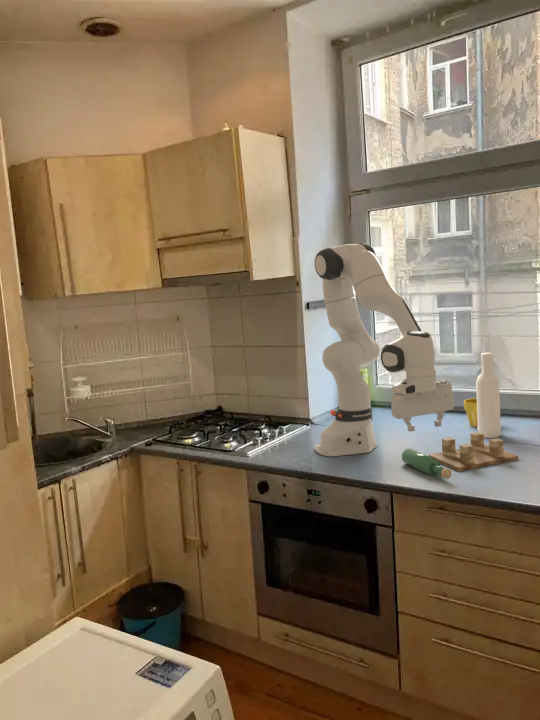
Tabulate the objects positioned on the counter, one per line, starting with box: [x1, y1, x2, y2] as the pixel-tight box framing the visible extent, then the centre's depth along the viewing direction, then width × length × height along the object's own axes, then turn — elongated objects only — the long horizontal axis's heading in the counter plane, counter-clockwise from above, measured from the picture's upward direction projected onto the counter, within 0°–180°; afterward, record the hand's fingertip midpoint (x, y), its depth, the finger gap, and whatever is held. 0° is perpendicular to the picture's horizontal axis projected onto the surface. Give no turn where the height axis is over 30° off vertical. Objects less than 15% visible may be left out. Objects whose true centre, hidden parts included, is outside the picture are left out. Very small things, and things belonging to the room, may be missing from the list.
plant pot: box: [463, 397, 478, 428], centre depth 238 cm, size 10×10×10 cm
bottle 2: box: [475, 352, 502, 439], centre depth 221 cm, size 8×8×30 cm
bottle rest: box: [428, 431, 519, 472], centre depth 197 cm, size 22×16×6 cm
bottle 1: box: [401, 448, 452, 480], centre depth 188 cm, size 21×5×5 cm, turn 19°
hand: (424, 428), depth 189 cm, fingers open, 8 cm apart
